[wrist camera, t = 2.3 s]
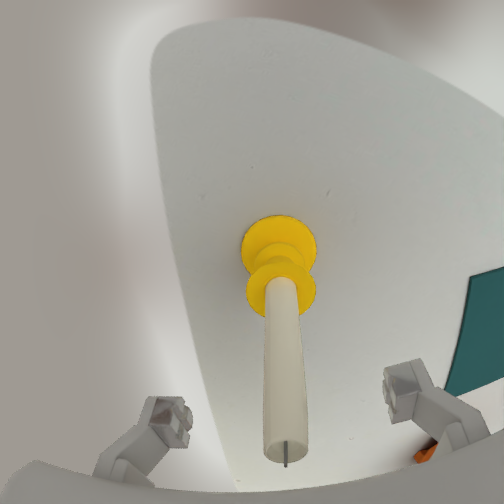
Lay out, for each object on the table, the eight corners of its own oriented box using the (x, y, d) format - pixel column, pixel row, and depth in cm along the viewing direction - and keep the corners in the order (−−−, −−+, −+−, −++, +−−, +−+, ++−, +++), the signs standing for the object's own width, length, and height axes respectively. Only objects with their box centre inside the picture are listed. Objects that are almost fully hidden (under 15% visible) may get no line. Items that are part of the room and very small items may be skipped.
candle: (240, 213, 21) (192, 423, 7) (318, 215, 21) (390, 421, 7) (241, 280, 23) (212, 488, 9) (312, 282, 23) (346, 487, 9)
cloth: (470, 276, 22) (472, 279, 22) (551, 251, 21) (553, 252, 20) (441, 399, 30) (442, 401, 30) (513, 370, 28) (514, 372, 28)
